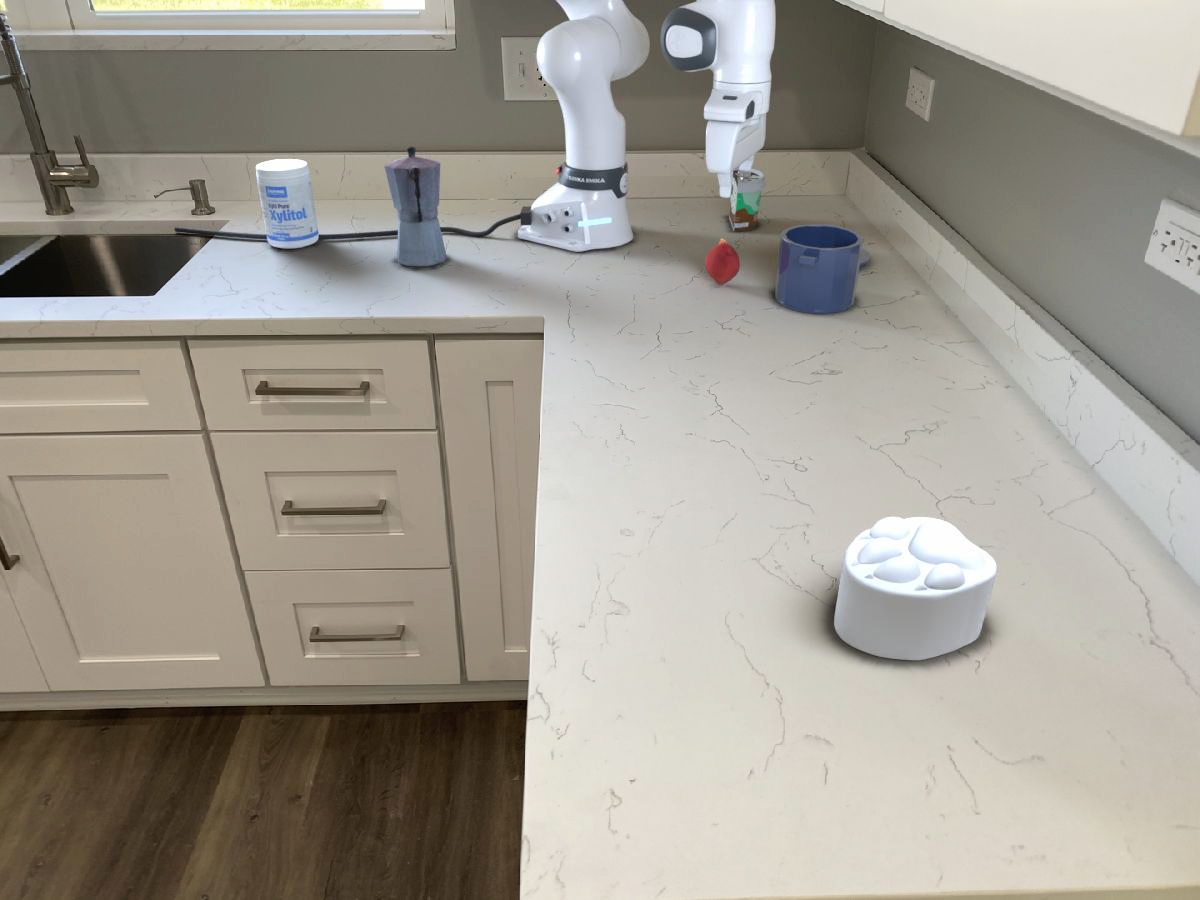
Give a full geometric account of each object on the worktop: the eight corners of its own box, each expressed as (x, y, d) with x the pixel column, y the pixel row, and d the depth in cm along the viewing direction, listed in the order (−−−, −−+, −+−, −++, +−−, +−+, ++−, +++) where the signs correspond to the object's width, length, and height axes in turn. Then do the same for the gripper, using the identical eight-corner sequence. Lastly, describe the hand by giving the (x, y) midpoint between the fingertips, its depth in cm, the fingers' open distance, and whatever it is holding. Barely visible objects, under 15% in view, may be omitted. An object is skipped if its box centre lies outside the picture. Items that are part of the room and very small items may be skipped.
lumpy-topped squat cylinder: (997, 636, 83) (1019, 559, 78) (876, 676, 78) (892, 597, 74) (921, 569, 91) (937, 496, 86) (808, 602, 87) (819, 527, 82)
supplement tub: (275, 253, 172) (260, 173, 165) (262, 239, 179) (247, 162, 172) (327, 244, 176) (314, 166, 169) (312, 231, 183) (299, 155, 176)
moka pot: (442, 245, 176) (432, 137, 165) (457, 272, 163) (447, 156, 153) (391, 250, 173) (378, 141, 163) (403, 278, 160) (389, 161, 150)
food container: (766, 233, 181) (770, 182, 175) (734, 233, 181) (738, 182, 175) (757, 215, 191) (762, 166, 186) (728, 215, 191) (731, 166, 186)
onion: (737, 279, 159) (741, 233, 155) (738, 291, 155) (742, 244, 150) (703, 277, 160) (706, 232, 156) (703, 290, 155) (706, 243, 151)
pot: (761, 312, 147) (767, 248, 141) (790, 275, 161) (797, 216, 155) (840, 325, 142) (849, 259, 137) (863, 286, 156) (872, 225, 151)
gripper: (741, 86, 152) (735, 171, 159) (699, 109, 136) (695, 203, 143) (778, 89, 149) (771, 175, 157) (741, 112, 134) (734, 207, 141)
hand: (734, 188), depth 150 cm, fingers open, 8 cm apart
